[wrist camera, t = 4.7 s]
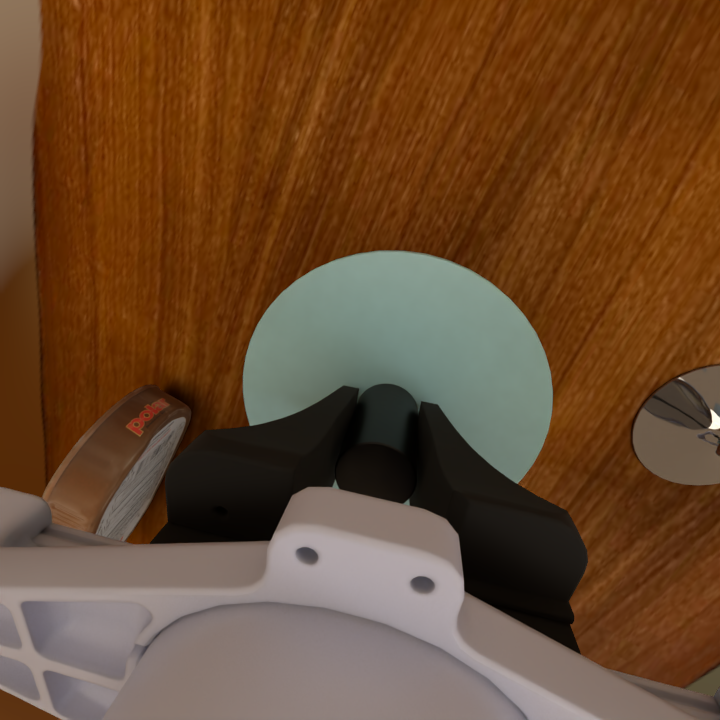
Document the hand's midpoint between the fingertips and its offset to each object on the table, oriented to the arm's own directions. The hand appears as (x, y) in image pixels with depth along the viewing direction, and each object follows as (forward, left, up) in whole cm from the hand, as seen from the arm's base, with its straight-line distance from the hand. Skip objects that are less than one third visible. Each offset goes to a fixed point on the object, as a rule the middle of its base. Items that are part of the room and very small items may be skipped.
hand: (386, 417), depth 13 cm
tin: (+5, +18, -7) cm, 20 cm away
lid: (0, 0, -1) cm, 1 cm away
